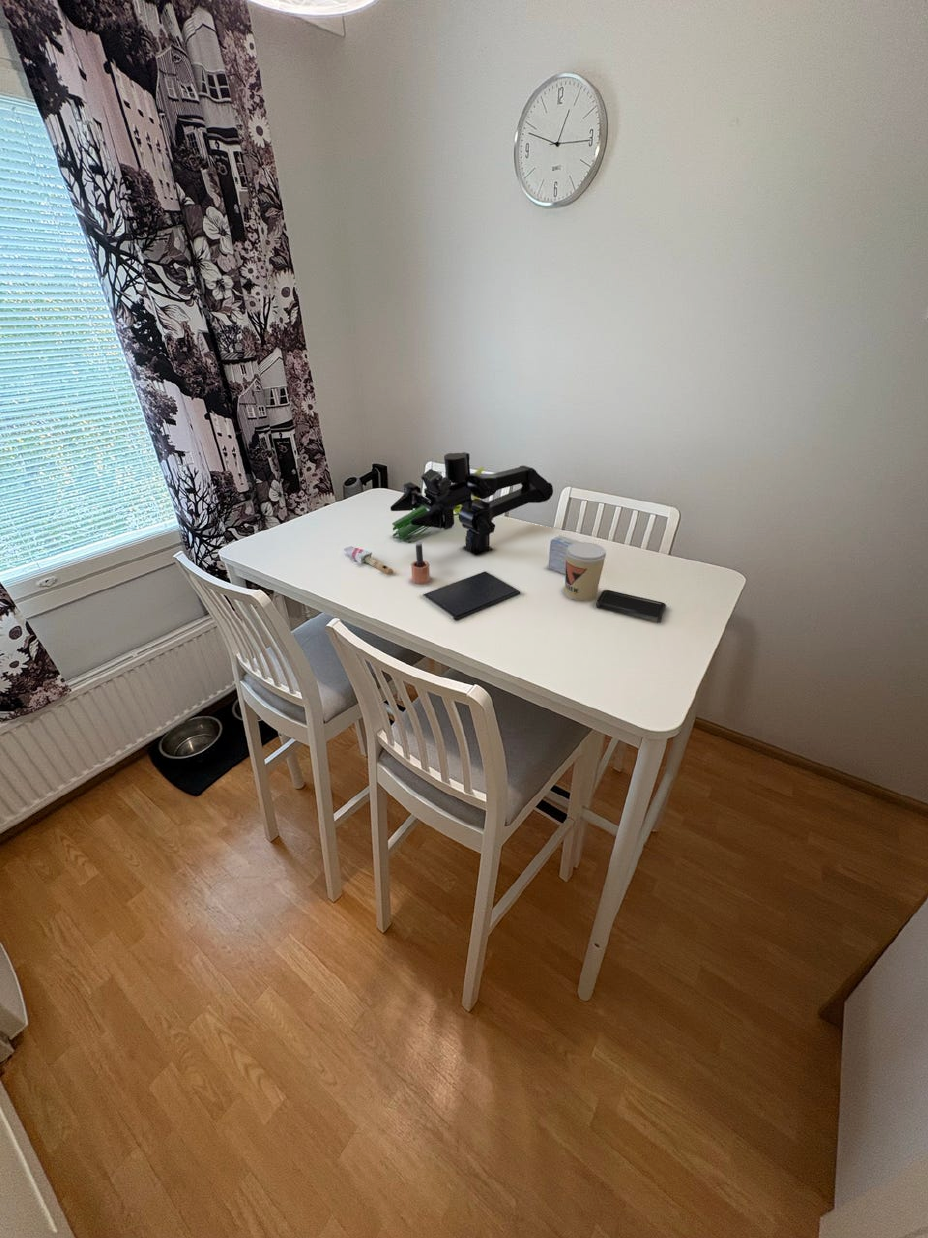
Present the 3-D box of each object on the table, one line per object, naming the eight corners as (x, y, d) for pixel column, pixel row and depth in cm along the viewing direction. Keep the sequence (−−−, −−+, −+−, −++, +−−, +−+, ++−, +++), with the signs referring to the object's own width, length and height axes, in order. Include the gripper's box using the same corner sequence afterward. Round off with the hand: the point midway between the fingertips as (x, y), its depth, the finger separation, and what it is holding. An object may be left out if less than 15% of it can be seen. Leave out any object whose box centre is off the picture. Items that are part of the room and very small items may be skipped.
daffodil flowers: (381, 532, 158) (461, 482, 171) (409, 564, 156) (489, 511, 168) (381, 500, 143) (469, 448, 156) (412, 536, 140) (500, 480, 153)
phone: (604, 588, 122) (666, 603, 116) (603, 592, 122) (665, 607, 116) (595, 603, 116) (661, 619, 110) (594, 607, 117) (660, 623, 111)
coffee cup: (554, 588, 125) (558, 545, 118) (584, 581, 128) (591, 538, 121) (575, 606, 117) (581, 561, 111) (607, 598, 121) (614, 553, 114)
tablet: (485, 573, 132) (485, 570, 131) (520, 593, 123) (520, 590, 122) (423, 596, 122) (422, 593, 121) (456, 620, 112) (456, 617, 112)
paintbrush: (352, 541, 143) (395, 565, 131) (353, 549, 144) (395, 574, 133) (340, 545, 141) (383, 570, 129) (341, 553, 142) (384, 579, 131)
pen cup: (423, 575, 131) (422, 558, 128) (433, 582, 128) (432, 564, 125) (409, 580, 129) (407, 563, 126) (418, 587, 126) (417, 570, 123)
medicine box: (581, 572, 132) (585, 542, 127) (572, 578, 129) (575, 547, 125) (556, 563, 137) (559, 534, 132) (547, 568, 134) (550, 539, 129)
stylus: (421, 577, 129) (419, 540, 123) (425, 579, 128) (423, 542, 122) (416, 579, 128) (414, 542, 123) (420, 581, 127) (417, 544, 122)
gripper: (427, 456, 130) (376, 473, 123) (472, 479, 119) (419, 499, 112) (430, 495, 137) (382, 513, 130) (472, 520, 126) (422, 541, 119)
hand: (400, 515), depth 122 cm, fingers open, 9 cm apart
